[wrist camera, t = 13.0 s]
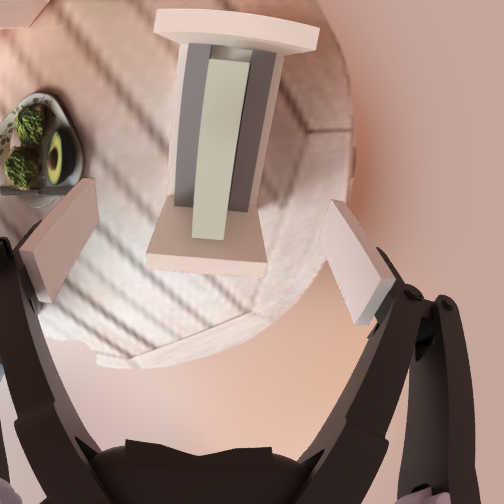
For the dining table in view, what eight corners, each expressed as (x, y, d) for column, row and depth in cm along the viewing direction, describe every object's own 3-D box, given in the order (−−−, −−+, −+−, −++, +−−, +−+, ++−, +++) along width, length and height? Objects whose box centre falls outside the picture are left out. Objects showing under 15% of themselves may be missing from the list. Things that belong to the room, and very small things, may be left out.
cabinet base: (253, 212, 41) (263, 278, 30) (169, 204, 39) (147, 269, 28) (285, 42, 27) (320, 28, 16) (184, 30, 25) (156, 9, 14)
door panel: (215, 62, 27) (208, 58, 17) (243, 65, 27) (251, 63, 18) (200, 185, 36) (190, 237, 26) (224, 188, 36) (224, 240, 27)
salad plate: (27, 224, 38) (14, 239, 34) (-17, 142, 27) (-33, 152, 24) (104, 179, 36) (91, 193, 32) (55, 75, 25) (37, 79, 21)
